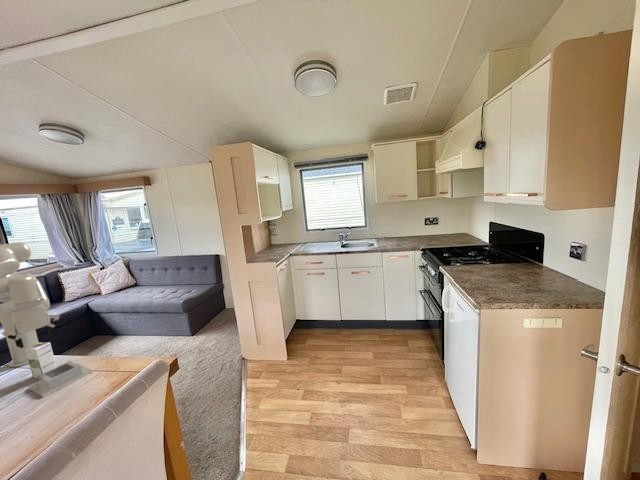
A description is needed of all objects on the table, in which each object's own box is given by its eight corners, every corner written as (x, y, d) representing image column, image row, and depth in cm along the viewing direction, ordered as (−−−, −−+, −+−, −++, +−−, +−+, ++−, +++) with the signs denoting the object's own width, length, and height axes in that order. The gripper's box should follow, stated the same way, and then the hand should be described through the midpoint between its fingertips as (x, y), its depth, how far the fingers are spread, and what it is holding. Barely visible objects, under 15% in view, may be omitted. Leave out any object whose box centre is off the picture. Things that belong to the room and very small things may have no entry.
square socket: (28, 388, 106) (26, 378, 106) (77, 365, 120) (75, 356, 120) (42, 397, 100) (40, 387, 100) (92, 372, 114) (90, 363, 114)
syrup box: (58, 370, 118) (51, 341, 115) (43, 379, 112) (35, 349, 110) (47, 370, 118) (40, 341, 116) (32, 379, 113) (24, 349, 110)
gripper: (51, 296, 119) (59, 330, 122) (-7, 312, 104) (4, 350, 106) (58, 297, 116) (66, 332, 118) (-1, 314, 101) (10, 353, 103)
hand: (37, 341), depth 112 cm, fingers open, 9 cm apart
